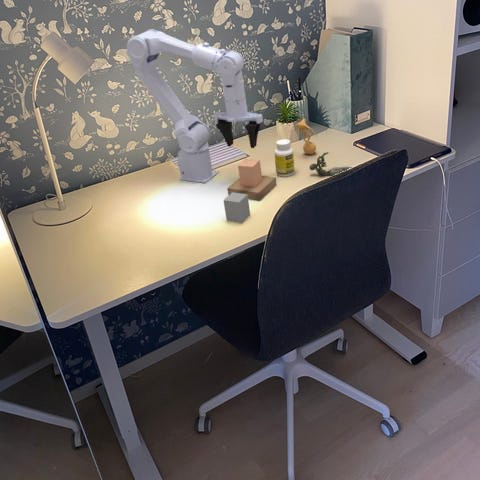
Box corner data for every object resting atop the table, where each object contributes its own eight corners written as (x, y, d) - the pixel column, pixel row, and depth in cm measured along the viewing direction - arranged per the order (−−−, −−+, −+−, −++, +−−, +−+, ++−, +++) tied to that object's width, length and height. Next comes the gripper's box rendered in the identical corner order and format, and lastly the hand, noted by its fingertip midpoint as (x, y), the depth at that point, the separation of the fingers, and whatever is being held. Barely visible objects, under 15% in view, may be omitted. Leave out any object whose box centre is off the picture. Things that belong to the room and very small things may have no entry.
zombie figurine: (362, 156, 148) (307, 157, 152) (363, 178, 151) (309, 179, 155) (363, 148, 152) (310, 150, 156) (363, 170, 156) (311, 171, 160)
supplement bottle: (288, 178, 157) (285, 146, 152) (272, 175, 160) (269, 143, 155) (298, 171, 160) (296, 139, 155) (282, 168, 163) (280, 137, 158)
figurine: (324, 154, 169) (322, 116, 162) (312, 161, 165) (310, 123, 159) (303, 149, 174) (301, 112, 168) (291, 155, 171) (288, 118, 164)
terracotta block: (240, 185, 151) (237, 165, 148) (247, 178, 154) (245, 158, 151) (255, 186, 149) (252, 166, 146) (262, 179, 152) (259, 159, 149)
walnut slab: (228, 197, 152) (227, 188, 150) (246, 182, 159) (245, 173, 157) (260, 202, 147) (258, 192, 145) (276, 186, 154) (275, 177, 153)
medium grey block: (226, 220, 140) (223, 200, 136) (235, 212, 143) (232, 192, 140) (241, 223, 137) (238, 202, 134) (250, 215, 141) (247, 194, 138)
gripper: (205, 102, 148) (213, 149, 155) (251, 104, 141) (257, 153, 148) (218, 94, 153) (225, 140, 160) (263, 95, 146) (269, 143, 153)
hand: (242, 145), depth 154 cm, fingers open, 7 cm apart
